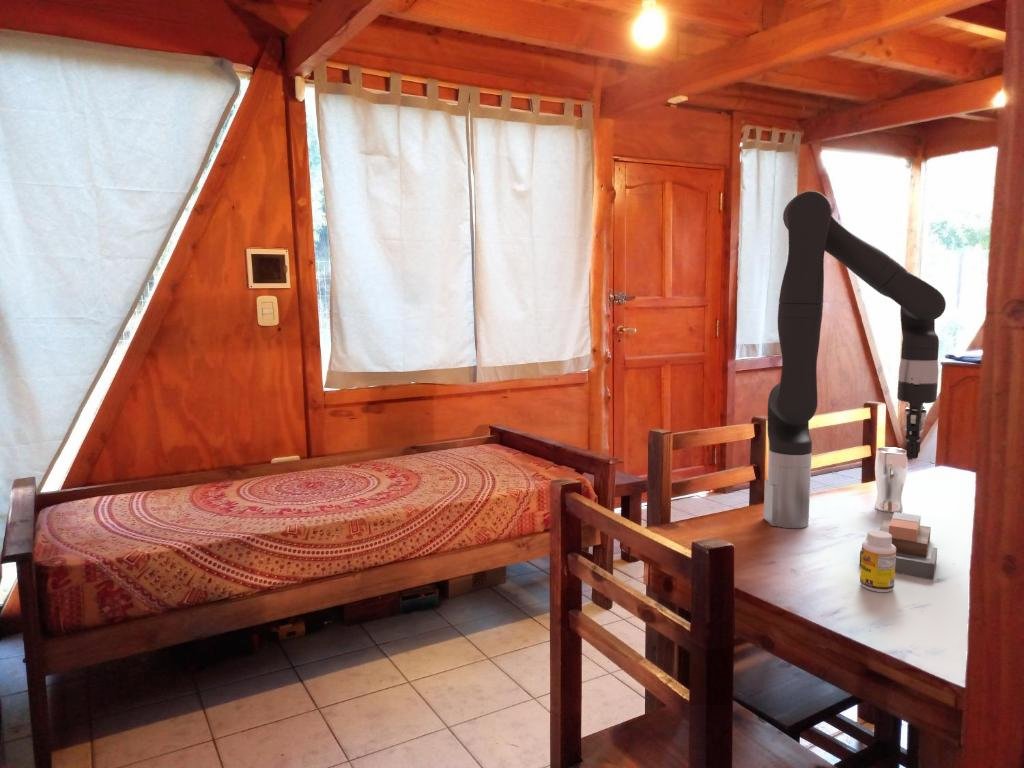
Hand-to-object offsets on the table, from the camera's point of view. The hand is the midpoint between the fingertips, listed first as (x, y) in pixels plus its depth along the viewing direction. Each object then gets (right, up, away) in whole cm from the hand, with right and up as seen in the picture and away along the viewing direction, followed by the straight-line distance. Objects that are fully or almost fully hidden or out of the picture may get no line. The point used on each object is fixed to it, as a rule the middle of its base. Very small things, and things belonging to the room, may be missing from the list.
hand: (913, 455), depth 156 cm
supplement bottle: (-22, -22, -27) cm, 41 cm away
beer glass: (+4, -15, +17) cm, 23 cm away
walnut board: (-6, -18, -7) cm, 21 cm away
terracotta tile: (-8, -16, -10) cm, 20 cm away
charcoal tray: (-12, -20, -17) cm, 29 cm away
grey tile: (-5, -15, -5) cm, 17 cm away
